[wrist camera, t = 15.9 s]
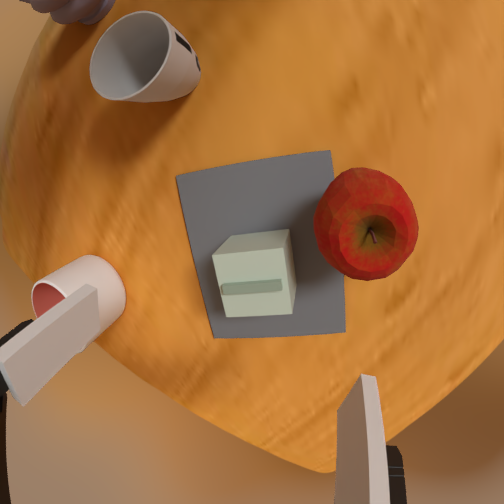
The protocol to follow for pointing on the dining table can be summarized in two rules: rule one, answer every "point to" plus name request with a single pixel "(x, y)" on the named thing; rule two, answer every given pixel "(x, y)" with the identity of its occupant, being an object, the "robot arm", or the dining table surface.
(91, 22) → the cat figurine
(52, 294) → the cup
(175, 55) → the cup
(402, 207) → the apple
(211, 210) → the grey piece
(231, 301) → the pale green block
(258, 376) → the dining table surface
